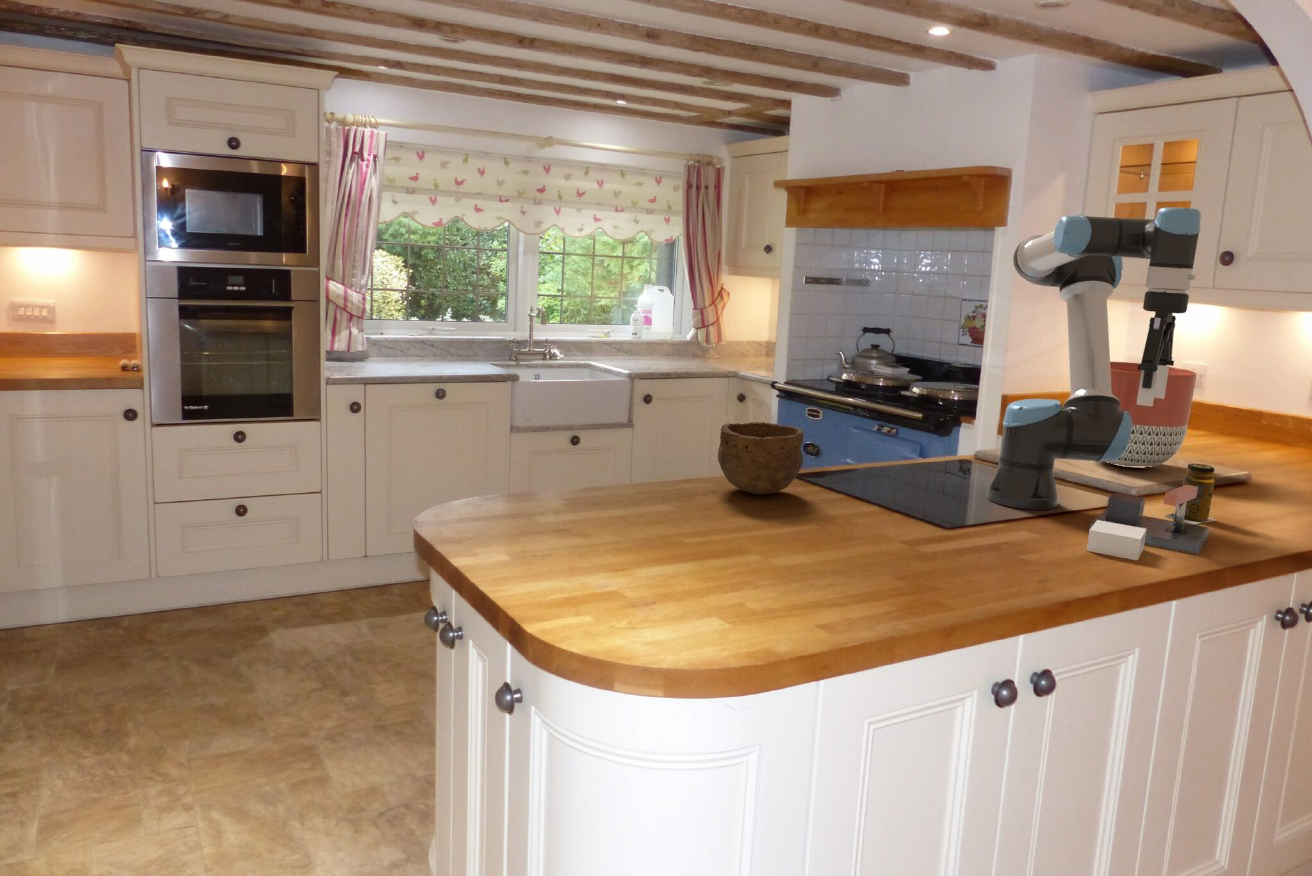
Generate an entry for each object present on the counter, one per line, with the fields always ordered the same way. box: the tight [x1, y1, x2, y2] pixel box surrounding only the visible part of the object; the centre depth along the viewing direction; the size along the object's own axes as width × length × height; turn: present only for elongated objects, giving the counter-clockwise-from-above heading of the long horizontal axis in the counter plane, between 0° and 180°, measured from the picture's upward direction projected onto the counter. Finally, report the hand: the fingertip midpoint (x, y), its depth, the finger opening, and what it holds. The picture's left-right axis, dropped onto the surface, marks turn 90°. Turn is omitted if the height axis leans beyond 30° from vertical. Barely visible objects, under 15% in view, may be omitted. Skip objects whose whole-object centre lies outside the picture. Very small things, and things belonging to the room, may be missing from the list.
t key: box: [1163, 485, 1198, 531], centre depth 202 cm, size 12×2×8 cm, turn 135°
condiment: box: [1164, 462, 1216, 525], centre depth 221 cm, size 7×8×12 cm
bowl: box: [717, 421, 804, 496], centre depth 224 cm, size 19×19×15 cm
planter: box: [1104, 361, 1198, 467], centre depth 273 cm, size 27×27×27 cm
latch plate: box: [1088, 492, 1210, 556], centre depth 206 cm, size 20×16×7 cm
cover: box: [1086, 520, 1147, 561], centre depth 195 cm, size 9×9×4 cm
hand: (1150, 401), depth 195 cm, fingers open, 13 cm apart
